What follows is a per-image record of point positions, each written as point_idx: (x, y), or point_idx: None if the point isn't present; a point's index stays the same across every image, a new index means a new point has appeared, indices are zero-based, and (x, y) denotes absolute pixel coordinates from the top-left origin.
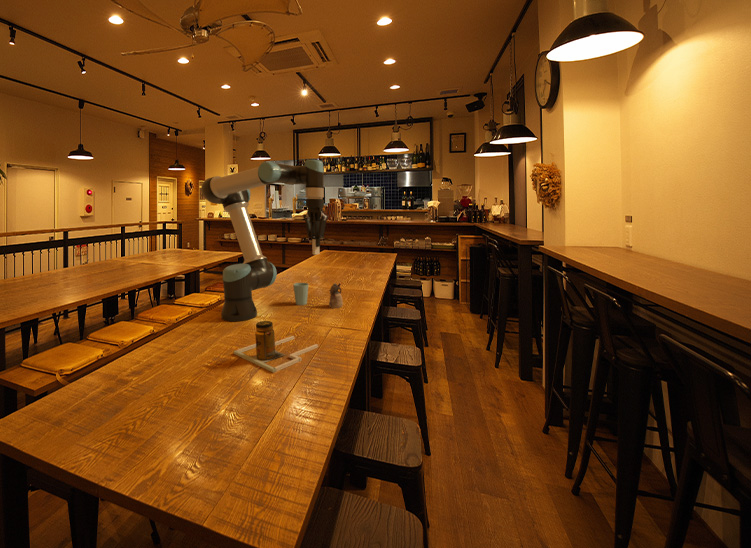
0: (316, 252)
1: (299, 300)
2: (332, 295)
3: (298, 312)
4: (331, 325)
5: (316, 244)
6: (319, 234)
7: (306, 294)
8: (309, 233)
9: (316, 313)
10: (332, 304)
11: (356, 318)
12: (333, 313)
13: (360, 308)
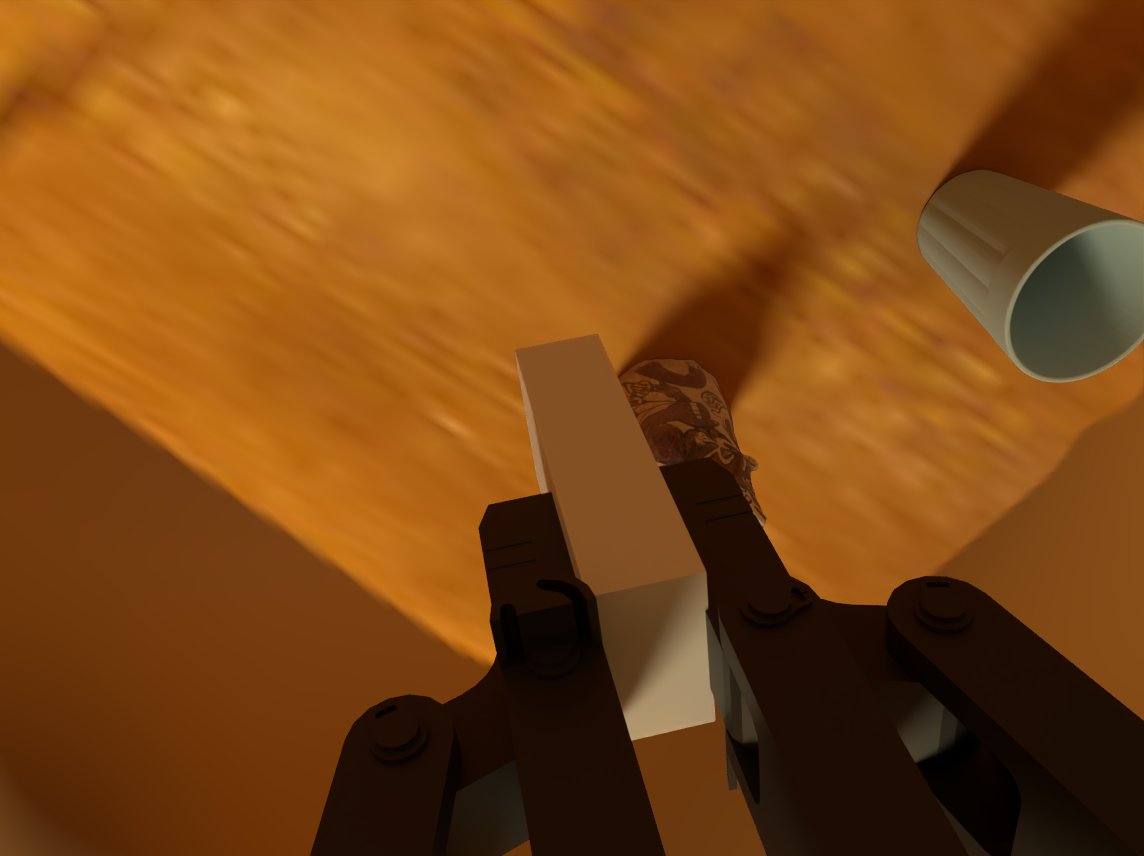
0: (528, 418)
1: (968, 196)
2: (677, 435)
3: (767, 35)
4: (174, 54)
5: (533, 535)
6: (347, 825)
7: (959, 288)
8: (955, 695)
9: (609, 161)
10: (645, 382)
11: (231, 360)
12: (497, 286)
13: (462, 534)
